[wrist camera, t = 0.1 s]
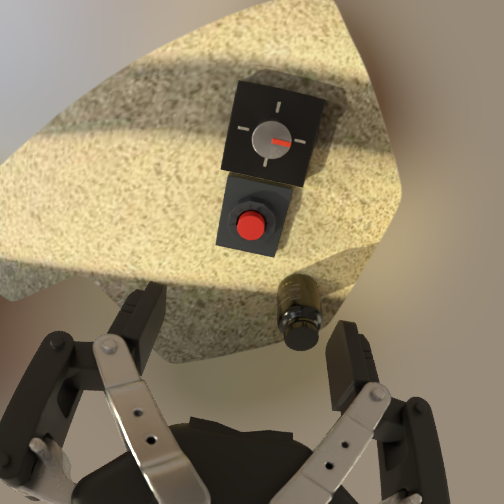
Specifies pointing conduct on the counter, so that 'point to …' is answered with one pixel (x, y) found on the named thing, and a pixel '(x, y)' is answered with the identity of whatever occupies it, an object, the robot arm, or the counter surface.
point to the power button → (251, 225)
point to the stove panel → (276, 106)
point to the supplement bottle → (299, 312)
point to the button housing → (253, 199)
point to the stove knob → (271, 138)
